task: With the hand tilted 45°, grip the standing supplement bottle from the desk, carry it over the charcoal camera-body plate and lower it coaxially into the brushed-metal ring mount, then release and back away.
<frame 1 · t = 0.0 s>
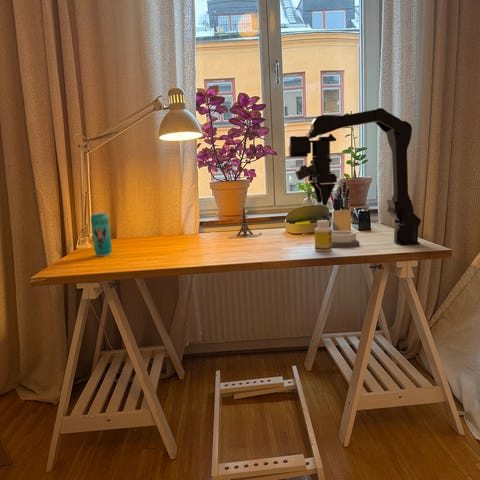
hand: (321, 204, 132), 15 cm above the table, tool pointing down, fingers open, 9 cm apart
beverage can: (103, 255, 140), on the table
eiffel tower figurine: (244, 237, 166), on the table
supplement bottle: (323, 250, 129), on the table
lens mount: (341, 244, 137), on the table
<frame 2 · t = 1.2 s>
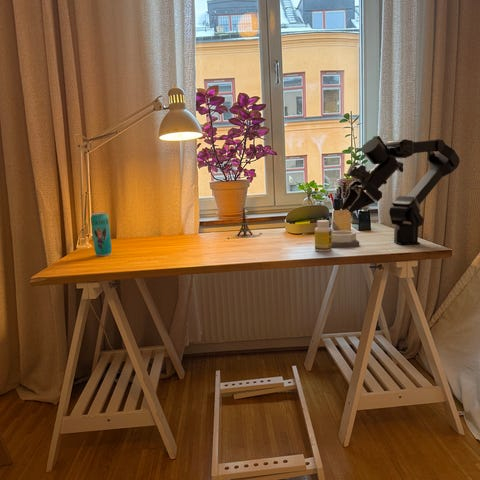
hand: (345, 209, 127), 13 cm above the table, tool tilted 45°, fingers open, 9 cm apart
nothing on the table moved.
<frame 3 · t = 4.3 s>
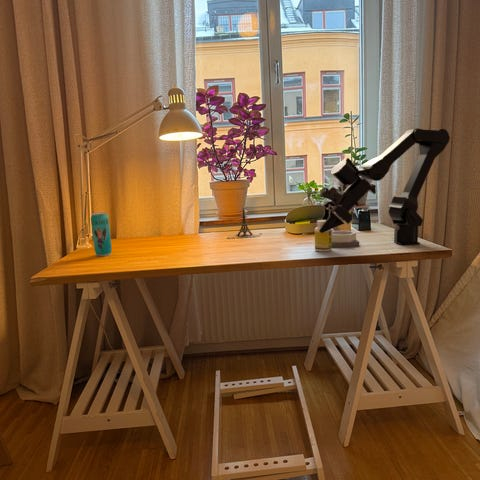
hand: (318, 230, 128), 7 cm above the table, tool tilted 45°, fingers closed on supplement bottle, 5 cm apart
supplement bottle: (323, 250, 129), on the table, touching gripper
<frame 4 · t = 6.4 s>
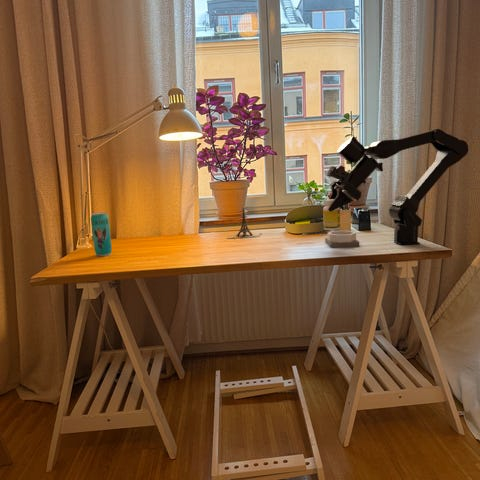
hand: (327, 209, 130), 13 cm above the table, tool tilted 45°, fingers closed on supplement bottle, 5 cm apart
supplement bottle: (332, 229, 131), point 6 cm above the table, touching gripper
when the fingers open (9 cm above the table, at t = 8.7 s): supplement bottle drops 1 cm, resting on lens mount.
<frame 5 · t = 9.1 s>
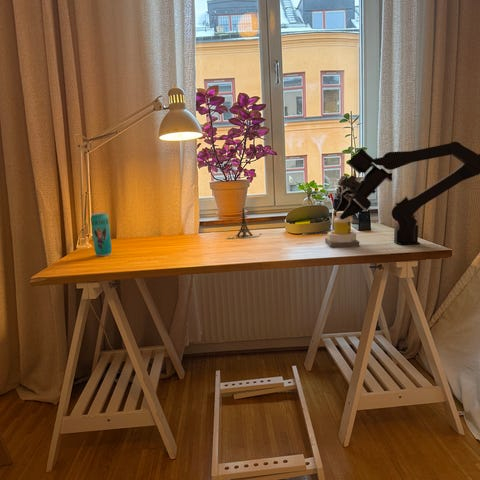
hand: (337, 217, 136), 10 cm above the table, tool tilted 45°, fingers open, 9 cm apart
supplement bottle: (342, 240, 137), point 1 cm above the table, touching lens mount
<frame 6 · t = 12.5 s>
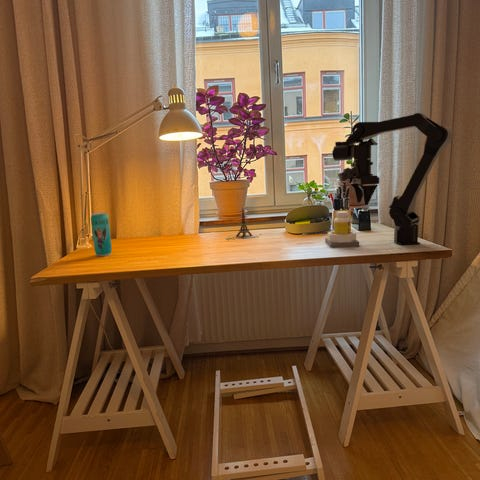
hand: (362, 203, 141), 13 cm above the table, tool pointing down, fingers open, 9 cm apart
at the end: supplement bottle 0.2 cm off-centre on the lens mount, point 1.3 cm above the lens mount's base; supplement bottle tilted 0°; the gripper is holding nothing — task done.
